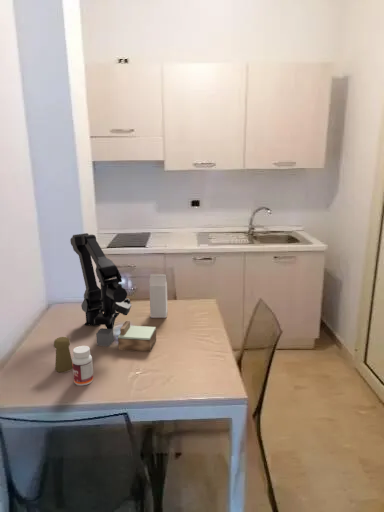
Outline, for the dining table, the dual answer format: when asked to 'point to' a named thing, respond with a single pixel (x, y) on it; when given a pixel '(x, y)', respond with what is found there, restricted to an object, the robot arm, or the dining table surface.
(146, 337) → the lid
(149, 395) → the dining table surface
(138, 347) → the box
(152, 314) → the milk carton
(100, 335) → the cube
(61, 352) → the pepper shaker
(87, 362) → the pill bottle
